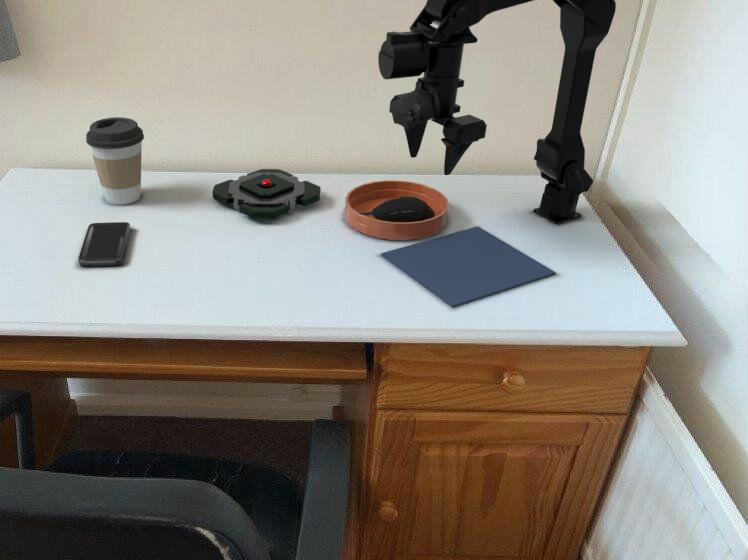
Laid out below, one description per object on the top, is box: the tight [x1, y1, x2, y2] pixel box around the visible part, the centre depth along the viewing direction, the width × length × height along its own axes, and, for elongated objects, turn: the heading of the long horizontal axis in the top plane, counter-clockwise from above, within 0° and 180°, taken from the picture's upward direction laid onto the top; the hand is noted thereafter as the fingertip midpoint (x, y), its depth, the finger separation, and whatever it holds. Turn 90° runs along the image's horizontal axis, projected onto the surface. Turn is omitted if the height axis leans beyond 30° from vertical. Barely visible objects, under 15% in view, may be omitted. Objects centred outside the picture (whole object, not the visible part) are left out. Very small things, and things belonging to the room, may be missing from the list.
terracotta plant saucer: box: [344, 179, 450, 241], centre depth 148 cm, size 19×19×4 cm
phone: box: [77, 221, 132, 268], centre depth 141 cm, size 8×1×15 cm
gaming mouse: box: [360, 197, 435, 223], centre depth 148 cm, size 6×15×4 cm, turn 82°
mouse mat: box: [380, 226, 557, 308], centre depth 134 cm, size 22×20×1 cm
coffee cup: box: [85, 116, 145, 206], centre depth 154 cm, size 11×11×15 cm
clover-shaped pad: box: [211, 168, 321, 220], centre depth 155 cm, size 18×18×5 cm
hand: (429, 165), depth 135 cm, fingers open, 9 cm apart
